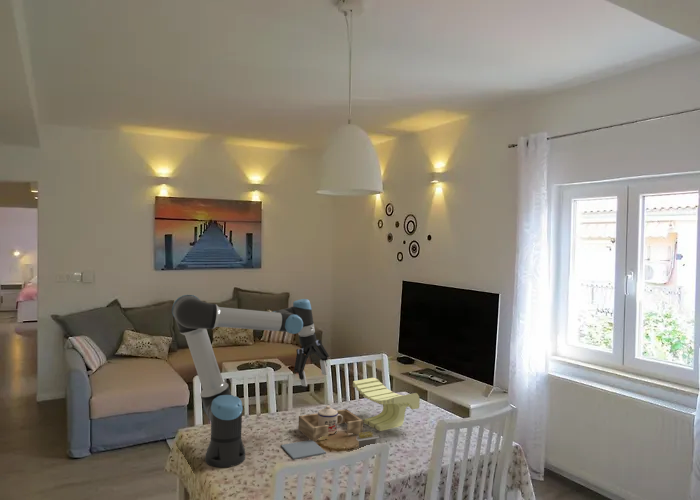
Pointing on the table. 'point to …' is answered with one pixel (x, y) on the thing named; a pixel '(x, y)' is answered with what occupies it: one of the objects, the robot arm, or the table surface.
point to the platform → (366, 439)
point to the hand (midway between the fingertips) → (314, 379)
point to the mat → (303, 449)
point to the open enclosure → (313, 431)
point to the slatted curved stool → (386, 403)
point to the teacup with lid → (329, 418)
